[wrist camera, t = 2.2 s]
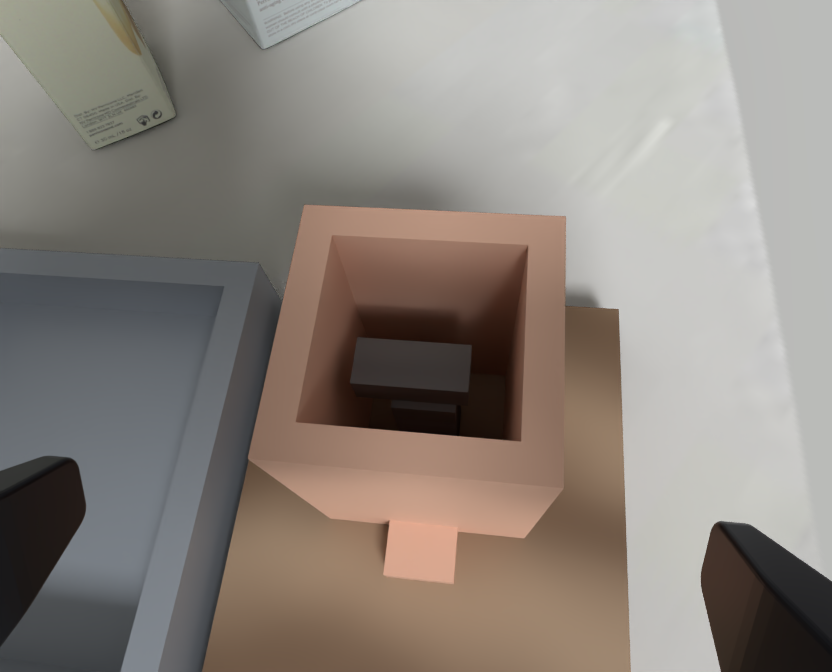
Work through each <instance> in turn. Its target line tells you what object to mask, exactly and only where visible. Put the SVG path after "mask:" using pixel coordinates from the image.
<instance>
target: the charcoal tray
mask: <svg viewBox="0 0 832 672" xmlns="http://www.w3.org/2000/svg"><path fill="white" fill-rule="evenodd" d="M281 306H282V301H281V300H280V298H279V296H278V295H277V293H276V291H275V289H274V288H273V286H272V284H271V283H270V281H269V279H268V277H267V276H266V274H265V272H264V270H263V269H262V267H261V265H260V264H259V263H255V262H237V261H220V260H202V259H184V258H167V257H149V256H131V255H114V254H96V253H78V252H61V251H43V250H25V249H8V248H0V471H1V470H4V469H7V468H10V467H13V466H15V465H18V464H21V463H24V462H27V461H30V460H33V459H36V458H39V457H42V456H48V455H49V456H60V457H70V458H72V459H74V460H75V461H76V462H77V464H78V466H79V470H80V475H81V480H82V485H83V490H84V495H85V500H86V513H85V517H84V519H83V522H82V523H81V525H80V527H79V528H78V530H77V532H76V533H75V535H74V536H73V538H72V540H71V541H70V543H69V545H68V546H67V548H66V549H65V551H64V553H63V554H62V556H61V557H60V559H59V561H58V562H57V564H56V566H55V567H54V569H53V570H52V572H51V574H50V575H49V577H48V579H47V580H46V582H45V583H44V585H43V587H42V588H41V590H40V591H39V593H38V595H37V596H36V598H35V599H34V601H33V603H32V604H31V606H30V607H29V609H28V610H27V612H26V613H25V615H24V616H23V618H22V619H21V620H20V622H19V623H18V625H17V626H16V627H15V629H14V630H13V632H12V633H11V634H10V636H9V637H8V638H7V640H6V641H5V642H4V644H3V645H2V646H1V648H0V672H202V669H203V665H204V660H205V656H206V651H207V647H208V642H209V638H210V633H211V629H212V624H213V620H214V615H215V611H216V606H217V602H218V597H219V593H220V588H221V584H222V579H223V575H224V570H225V566H226V561H227V556H228V552H229V547H230V543H231V538H232V534H233V529H234V525H235V520H236V516H237V511H238V507H239V502H240V498H241V493H242V489H243V484H244V480H245V475H246V471H247V466H248V462H249V459H248V455H249V450H250V446H251V441H252V437H253V432H254V428H255V423H256V419H257V414H258V410H259V405H260V401H261V396H262V392H263V387H264V383H265V378H266V374H267V369H268V365H269V360H270V356H271V351H272V347H273V342H274V338H275V333H276V329H277V324H278V320H279V315H280V311H281Z"/></svg>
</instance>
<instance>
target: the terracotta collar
mask: <svg viewBox="0 0 832 672" xmlns="http://www.w3.org/2000/svg"><path fill="white" fill-rule="evenodd" d="M565 265H566V216H544V215H522V214H500V213H478V212H456V211H434V210H412V209H390V208H368V207H346V206H324V205H304V207H303V212H302V216H301V221H300V225H299V230H298V234H297V239H296V243H295V248H294V252H293V257H292V261H291V266H290V270H289V275H288V279H287V284H286V288H285V293H284V297H283V302H282V306H281V311H280V315H279V320H278V324H277V329H276V333H275V338H274V342H273V347H272V351H271V356H270V360H269V365H268V369H267V374H266V378H265V383H264V387H263V392H262V396H261V401H260V405H259V410H258V414H257V419H256V423H255V428H254V432H253V437H252V441H251V446H250V450H249V455H248V459H249V460H250V461H251V462H253V463H254V464H255V465H257V466H258V467H260V468H261V469H262V470H264V471H265V472H267V473H268V474H269V475H271V476H272V477H273V478H275V479H276V480H278V481H279V482H280V483H282V484H283V485H285V486H286V487H287V488H289V489H290V490H291V491H293V492H294V493H296V494H297V495H298V496H300V497H301V498H302V499H304V500H305V501H307V502H308V503H309V504H311V505H312V506H314V507H315V508H316V509H318V510H319V511H320V512H322V513H323V514H325V515H326V516H327V517H329V518H330V519H340V520H349V521H359V522H369V523H378V524H388V525H389V531H388V539H387V547H386V556H385V564H384V572H383V575H384V576H386V577H392V578H401V579H410V580H419V581H428V582H437V583H446V584H454V578H455V565H456V552H457V538H458V532H466V533H476V534H485V535H495V536H505V537H515V538H525V537H526V536H527V534H528V533H529V532H530V531H531V529H532V528H533V527H534V525H535V524H536V523H537V522H538V520H539V519H540V518H541V517H542V515H543V514H544V513H545V512H546V510H547V509H548V508H549V507H550V505H551V504H552V503H553V501H554V500H555V499H556V498H557V496H558V495H559V494H560V493H561V491H562V490H563V489H564V404H565ZM357 337H362V338H376V339H391V340H405V341H420V342H434V343H449V344H463V345H472V357H471V372H470V373H476V374H489V375H503V376H505V396H504V417H503V437H502V440H497V439H485V438H473V437H462V436H450V435H438V434H427V433H415V432H403V431H392V430H380V429H368V428H369V421H370V414H371V408H372V401H373V398H364V397H356V395H355V393H354V391H353V388H352V386H351V384H350V379H351V373H352V367H353V361H354V355H355V348H356V342H357Z"/></svg>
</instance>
